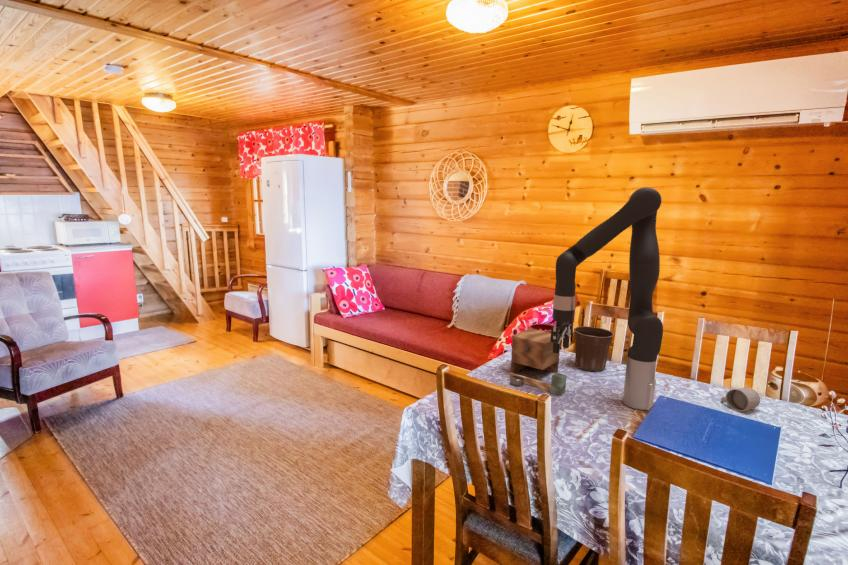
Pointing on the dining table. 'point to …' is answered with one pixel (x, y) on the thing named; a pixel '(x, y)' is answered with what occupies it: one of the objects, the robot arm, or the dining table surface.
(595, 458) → the dining table surface
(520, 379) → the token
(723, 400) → the ceramic mug
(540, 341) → the bread box
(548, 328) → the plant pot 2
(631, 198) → the robot arm
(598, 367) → the plant pot
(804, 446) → the dining table surface
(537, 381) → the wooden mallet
